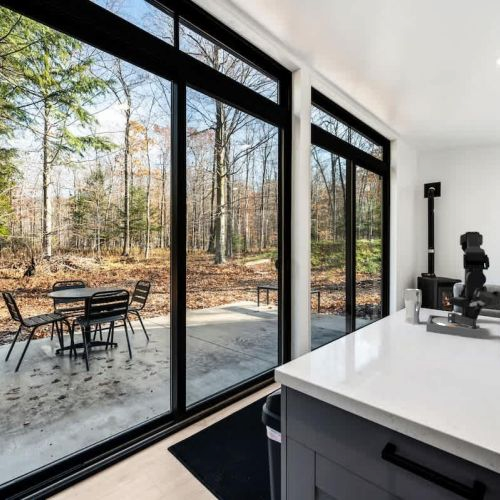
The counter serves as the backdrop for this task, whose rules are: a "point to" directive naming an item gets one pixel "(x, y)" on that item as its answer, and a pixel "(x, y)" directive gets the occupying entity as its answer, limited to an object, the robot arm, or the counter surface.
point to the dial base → (452, 329)
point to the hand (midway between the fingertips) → (473, 322)
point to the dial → (456, 321)
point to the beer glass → (412, 305)
